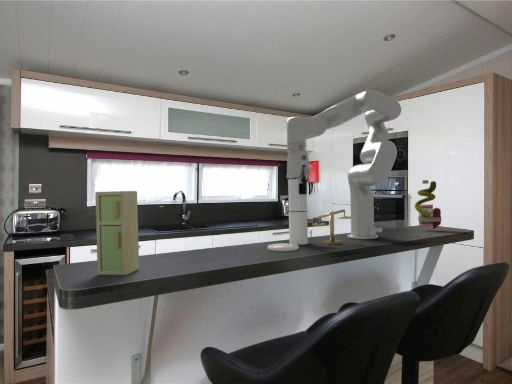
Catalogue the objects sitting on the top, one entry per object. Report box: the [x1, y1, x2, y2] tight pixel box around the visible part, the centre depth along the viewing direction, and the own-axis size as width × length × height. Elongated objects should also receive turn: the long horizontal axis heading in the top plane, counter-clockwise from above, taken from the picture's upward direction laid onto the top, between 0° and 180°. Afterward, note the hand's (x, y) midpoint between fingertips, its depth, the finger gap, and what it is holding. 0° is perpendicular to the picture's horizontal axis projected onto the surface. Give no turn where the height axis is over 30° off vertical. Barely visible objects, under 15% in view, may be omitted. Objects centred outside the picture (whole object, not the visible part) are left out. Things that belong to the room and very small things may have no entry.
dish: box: [267, 243, 300, 253], centre depth 114 cm, size 11×11×1 cm
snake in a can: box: [414, 179, 442, 230], centre depth 158 cm, size 12×10×25 cm
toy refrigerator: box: [94, 190, 140, 276], centre depth 82 cm, size 8×7×21 cm
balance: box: [311, 209, 351, 246], centre depth 123 cm, size 17×5×13 cm, turn 113°
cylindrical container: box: [287, 178, 309, 246], centre depth 126 cm, size 7×7×25 cm
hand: (297, 193), depth 126 cm, fingers closed on cylindrical container, 7 cm apart
